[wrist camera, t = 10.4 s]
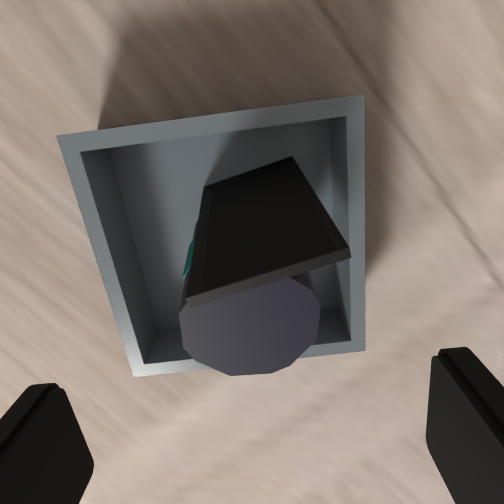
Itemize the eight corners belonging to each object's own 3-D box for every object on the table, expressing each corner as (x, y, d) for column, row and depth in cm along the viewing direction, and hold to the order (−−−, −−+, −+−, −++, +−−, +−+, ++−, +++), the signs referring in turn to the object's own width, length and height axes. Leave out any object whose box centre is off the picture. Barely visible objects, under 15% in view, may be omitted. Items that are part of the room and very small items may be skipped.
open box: (338, 97, 19) (364, 93, 15) (344, 309, 24) (365, 350, 20) (96, 130, 20) (56, 135, 15) (152, 331, 25) (133, 376, 20)
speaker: (190, 153, 19) (155, 234, 10) (295, 155, 19) (356, 234, 10) (195, 273, 22) (174, 414, 13) (284, 272, 23) (323, 409, 14)
